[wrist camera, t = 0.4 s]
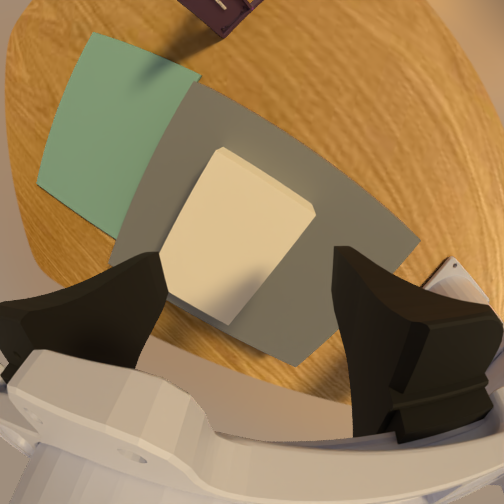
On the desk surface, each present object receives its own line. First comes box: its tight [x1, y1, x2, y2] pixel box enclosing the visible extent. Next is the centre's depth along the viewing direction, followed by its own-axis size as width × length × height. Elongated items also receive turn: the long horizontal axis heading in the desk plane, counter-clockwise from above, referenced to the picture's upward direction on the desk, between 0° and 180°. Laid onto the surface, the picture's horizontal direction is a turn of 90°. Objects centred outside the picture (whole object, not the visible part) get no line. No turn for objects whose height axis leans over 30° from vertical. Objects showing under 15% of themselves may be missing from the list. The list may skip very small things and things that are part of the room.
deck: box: [108, 81, 421, 367], centre depth 20 cm, size 17×14×4 cm
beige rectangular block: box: [159, 147, 316, 325], centre depth 17 cm, size 6×9×2 cm, turn 147°
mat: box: [36, 32, 202, 240], centre depth 19 cm, size 11×15×1 cm
